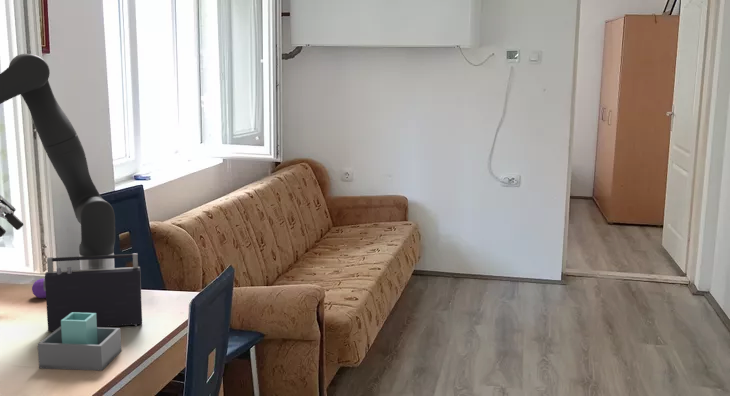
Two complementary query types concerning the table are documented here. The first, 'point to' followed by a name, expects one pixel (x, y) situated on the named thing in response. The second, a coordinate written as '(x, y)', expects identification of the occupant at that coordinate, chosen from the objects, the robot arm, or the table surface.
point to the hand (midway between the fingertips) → (12, 231)
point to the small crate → (79, 328)
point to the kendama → (39, 289)
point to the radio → (94, 292)
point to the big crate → (79, 351)
